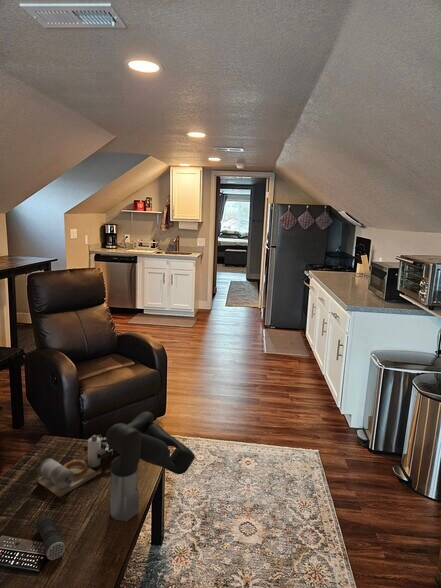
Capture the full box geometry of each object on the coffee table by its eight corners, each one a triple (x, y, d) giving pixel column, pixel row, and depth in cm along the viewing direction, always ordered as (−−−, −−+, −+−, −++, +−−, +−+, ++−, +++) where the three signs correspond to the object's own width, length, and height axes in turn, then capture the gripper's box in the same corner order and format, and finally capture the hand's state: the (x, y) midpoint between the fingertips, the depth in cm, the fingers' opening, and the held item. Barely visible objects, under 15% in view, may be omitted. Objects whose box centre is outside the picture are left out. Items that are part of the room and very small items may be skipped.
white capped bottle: (103, 463, 175) (103, 435, 173) (93, 468, 171) (93, 441, 169) (95, 458, 178) (95, 431, 176) (85, 464, 174) (85, 436, 172)
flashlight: (34, 531, 137) (34, 516, 136) (51, 524, 140) (51, 510, 139) (47, 562, 125) (46, 547, 124) (65, 554, 129) (65, 540, 127)
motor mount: (98, 476, 167) (98, 457, 165) (61, 498, 153) (61, 478, 151) (74, 462, 175) (74, 444, 173) (38, 482, 161) (37, 463, 159)
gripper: (131, 450, 182) (102, 467, 169) (109, 438, 190) (80, 454, 177) (131, 434, 181) (102, 450, 168) (109, 424, 189) (79, 438, 175)
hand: (90, 452), depth 172 cm, fingers open, 8 cm apart
